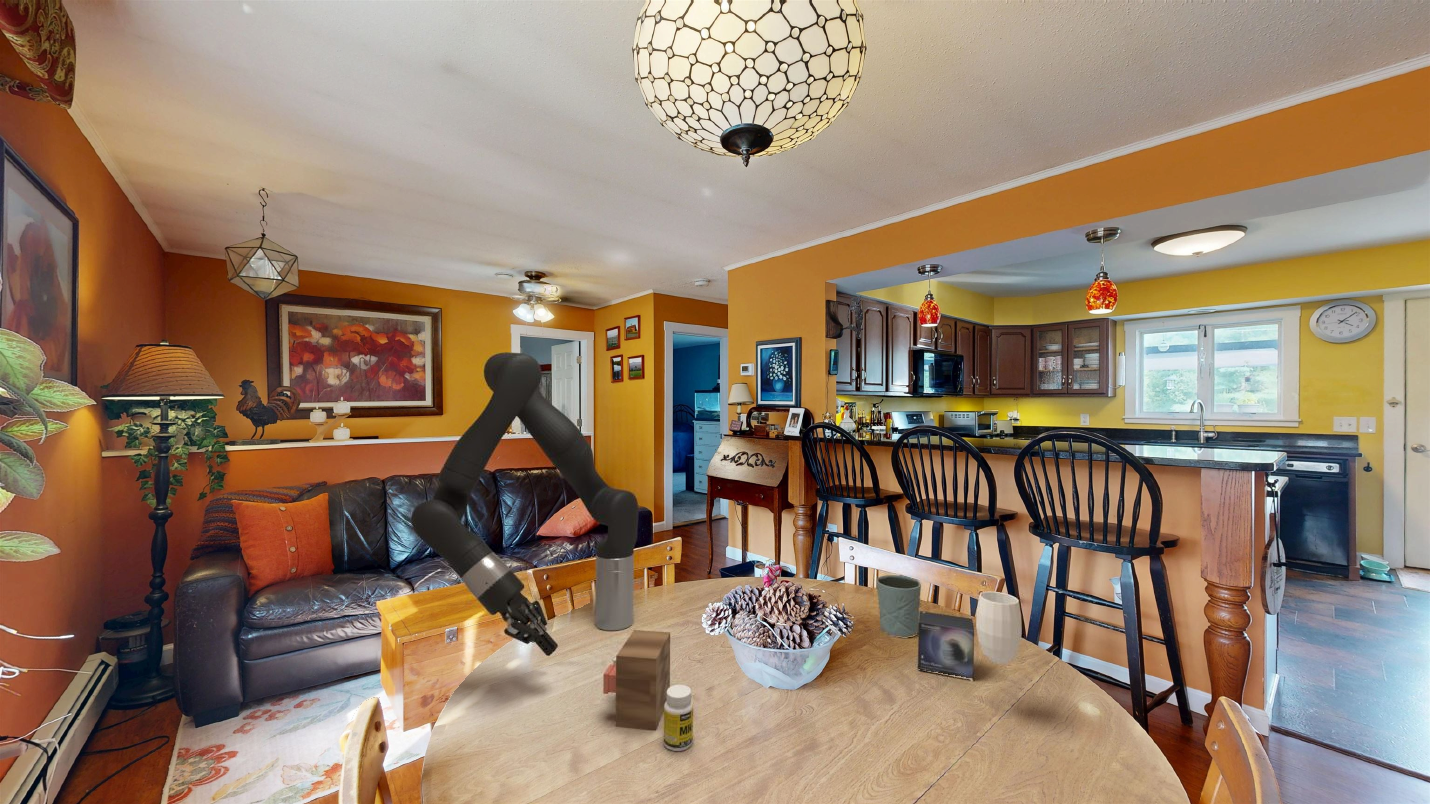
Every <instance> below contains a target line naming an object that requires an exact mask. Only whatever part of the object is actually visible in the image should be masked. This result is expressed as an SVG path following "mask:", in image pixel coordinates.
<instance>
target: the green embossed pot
mask: <svg viewBox="0 0 1430 804" xmlns="http://www.w3.org/2000/svg"><path fill="white" fill-rule="evenodd" d="M876 587H877V588H876V589H877V590H876V591H877V595H878V598H877V599H878V610H879V619H880V630H881V629H882V630H883V631H884V632H886V633H888V634H890V635H894V636H901V637H908V636H913V635H916V634H917V633H918V634H919V611H920V604H921V598H920V597H921V590H922V589H921V588H922V583H921V582H920V581H919V580H918V579H915V578H913V577H910V576H905V575H900V574H899V575H896V574H890V575H889V574H886V575H882V576H879V577H877V579H876ZM882 630H881V631H882ZM883 631H882V632H883ZM884 632H883V633H884ZM918 634H917V635H918Z"/></svg>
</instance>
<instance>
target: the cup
mask: <svg viewBox="0 0 1430 804" xmlns="http://www.w3.org/2000/svg"><path fill="white" fill-rule="evenodd" d="M978 596H979V597H978V602H977V607H976V619H975V621H976V622H975V623H976V624H975V626H976V627H975V628H976V634H977V640H978V644H979V647H980V650H981V652H982V653H983V654H984V655H985V656H986V657H987V658H988V660H990V661H991V662H992V663H995V664H998V665H1006V664H1007V663H1009V662H1010V661H1014V660H1015V659H1016V656H1017V654H1018V652H1019V649H1020V646H1021V645H1020V644H1021V639H1022V634H1023V632H1022V631H1023V630H1022V629H1023V628H1022V613H1021V606H1020V600H1019V599H1018V598H1017V597H1015V596H1013V595H1011V594H1008V593H1004V592H998V591H983V592H980V593H979V595H978Z"/></svg>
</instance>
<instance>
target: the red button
mask: <svg viewBox="0 0 1430 804" xmlns="http://www.w3.org/2000/svg"><path fill="white" fill-rule="evenodd" d="M602 681H603V683H602V684H603V686H602V687H603V688H602V689H603V690H602V693H603V694H604V695H608V694H609V693H612V694H613V693H614V694H616V667H615V666H614V665H613V663H612V664H609V665H608V667H607V669H605V671H604V673H603V680H602Z"/></svg>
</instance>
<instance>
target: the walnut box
mask: <svg viewBox="0 0 1430 804" xmlns="http://www.w3.org/2000/svg"><path fill="white" fill-rule="evenodd" d="M615 657H616V693H615V727H620V728H630V729H637V730H638V729H639V730H640V729H641V730H648V731H649V730H650V731H656V730H658V729H657V728H658V726H659V723H660V721H661V718H662V716H663V715H664V705H665V702H666V701H667V699H666V697H667V690H668V688H670V687H671V683H670V682H671V632H668V631H666V632H665V631H653V630H639V629H634V630H633V631H632V632H631V633H630V635H629V637H628V639H627V640H626V641H625V642H624V644H623V645H622V647H621V648H620V649H619V651H618V653H617V654H616V655H615Z"/></svg>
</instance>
